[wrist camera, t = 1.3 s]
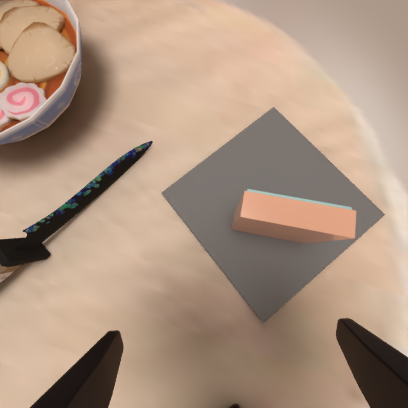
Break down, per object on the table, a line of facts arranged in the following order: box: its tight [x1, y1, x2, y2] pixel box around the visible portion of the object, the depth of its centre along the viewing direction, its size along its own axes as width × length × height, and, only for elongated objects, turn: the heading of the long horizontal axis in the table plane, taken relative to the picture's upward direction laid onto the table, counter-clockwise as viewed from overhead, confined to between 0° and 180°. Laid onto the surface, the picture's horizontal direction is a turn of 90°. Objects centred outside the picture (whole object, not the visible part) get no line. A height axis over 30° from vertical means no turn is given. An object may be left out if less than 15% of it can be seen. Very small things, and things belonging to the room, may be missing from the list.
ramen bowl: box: [0, 0, 82, 145], centre depth 26 cm, size 25×23×8 cm
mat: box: [162, 107, 385, 323], centre depth 25 cm, size 18×18×1 cm
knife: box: [0, 141, 153, 283], centre depth 24 cm, size 31×3×4 cm, turn 132°
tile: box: [231, 189, 356, 244], centre depth 20 cm, size 2×8×9 cm, turn 78°
